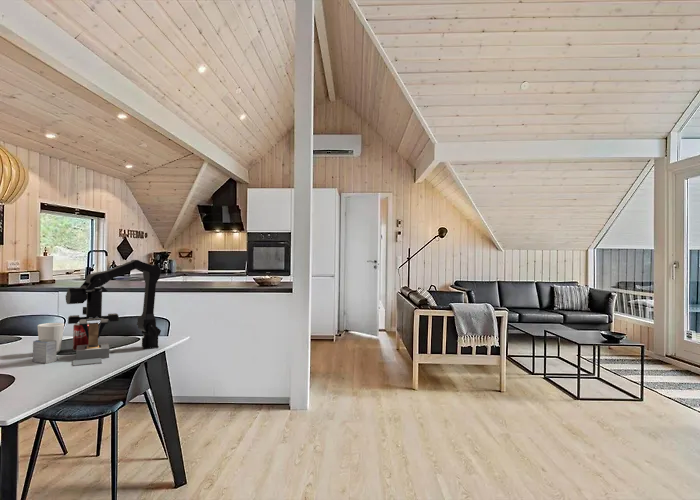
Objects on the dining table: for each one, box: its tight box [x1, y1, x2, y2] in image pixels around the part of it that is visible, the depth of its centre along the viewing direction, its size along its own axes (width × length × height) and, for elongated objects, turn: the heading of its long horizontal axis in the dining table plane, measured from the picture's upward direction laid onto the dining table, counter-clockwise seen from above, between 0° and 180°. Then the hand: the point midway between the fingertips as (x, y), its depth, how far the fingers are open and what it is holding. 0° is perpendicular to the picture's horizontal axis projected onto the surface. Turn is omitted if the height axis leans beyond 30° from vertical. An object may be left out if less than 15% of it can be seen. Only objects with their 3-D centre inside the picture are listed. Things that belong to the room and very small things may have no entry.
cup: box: [37, 322, 65, 355], centre depth 190 cm, size 10×10×13 cm
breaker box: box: [75, 342, 110, 360], centre depth 186 cm, size 12×12×4 cm
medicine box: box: [32, 339, 57, 364], centre depth 176 cm, size 8×4×9 cm, turn 71°
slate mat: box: [72, 358, 103, 367], centre depth 176 cm, size 10×8×1 cm
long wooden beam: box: [88, 322, 100, 348], centre depth 186 cm, size 4×4×10 cm
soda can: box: [72, 322, 90, 352], centre depth 198 cm, size 7×7×12 cm
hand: (93, 338), depth 187 cm, fingers closed on long wooden beam, 3 cm apart
